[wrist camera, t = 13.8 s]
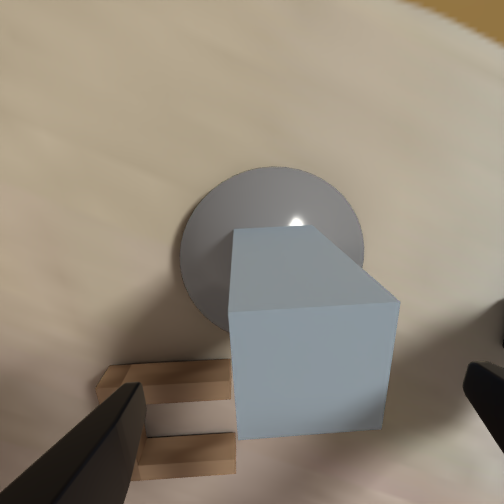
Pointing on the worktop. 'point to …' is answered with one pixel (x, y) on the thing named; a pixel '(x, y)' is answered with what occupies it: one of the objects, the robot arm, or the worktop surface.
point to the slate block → (306, 336)
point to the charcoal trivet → (258, 216)
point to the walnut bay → (173, 391)
